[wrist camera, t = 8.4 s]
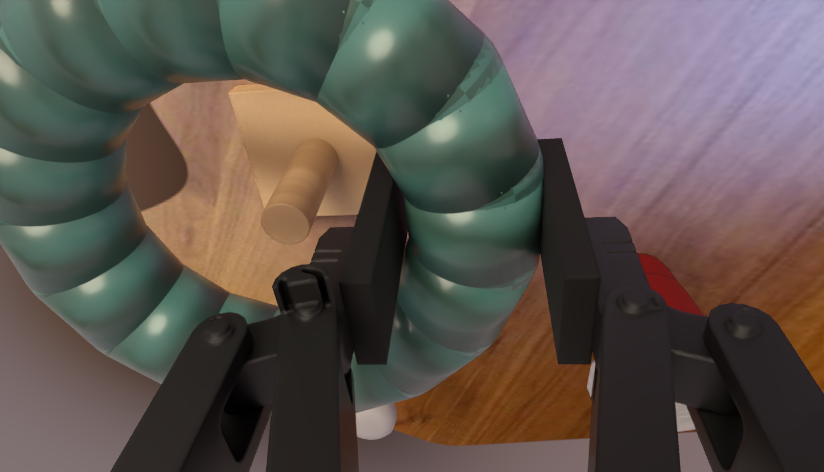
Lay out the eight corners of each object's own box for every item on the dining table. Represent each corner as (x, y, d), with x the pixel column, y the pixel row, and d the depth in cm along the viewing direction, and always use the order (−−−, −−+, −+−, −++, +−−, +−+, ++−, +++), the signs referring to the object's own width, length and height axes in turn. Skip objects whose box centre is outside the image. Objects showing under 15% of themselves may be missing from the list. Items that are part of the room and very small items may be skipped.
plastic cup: (669, 204, 45) (721, 311, 35) (717, 292, 49) (774, 407, 40) (545, 260, 49) (561, 369, 40) (599, 336, 54) (626, 448, 44)
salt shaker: (421, 294, 53) (406, 411, 42) (416, 336, 56) (402, 454, 46) (359, 287, 53) (329, 402, 43) (358, 329, 56) (331, 445, 46)
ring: (-90, -74, 15) (-239, -48, 12) (547, -142, 13) (571, -133, 10) (141, 356, 25) (92, 434, 22) (529, 356, 23) (538, 442, 20)
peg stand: (235, 85, 42) (174, 152, 34) (380, 75, 40) (354, 143, 32) (272, 208, 48) (229, 290, 40) (398, 203, 47) (381, 287, 39)
